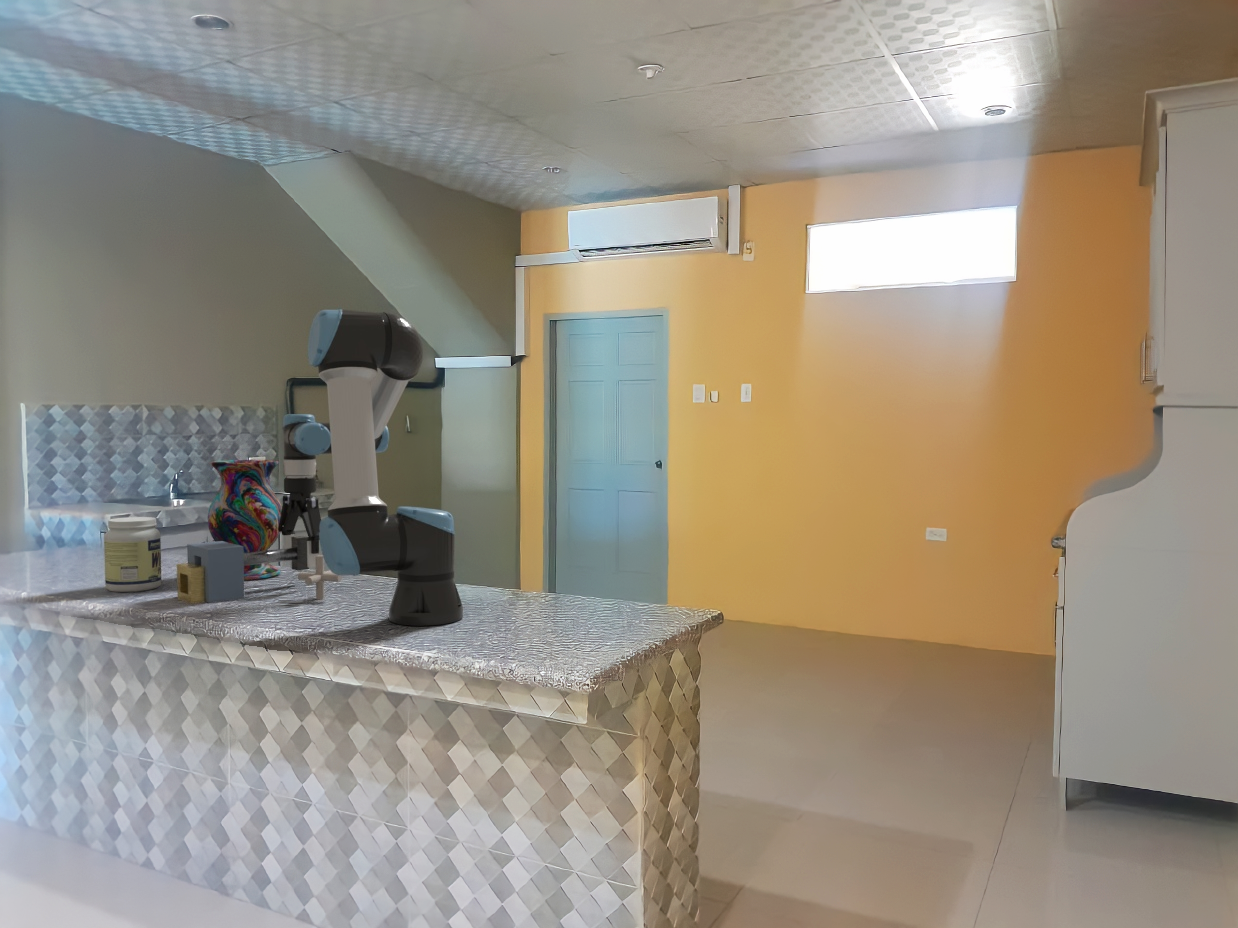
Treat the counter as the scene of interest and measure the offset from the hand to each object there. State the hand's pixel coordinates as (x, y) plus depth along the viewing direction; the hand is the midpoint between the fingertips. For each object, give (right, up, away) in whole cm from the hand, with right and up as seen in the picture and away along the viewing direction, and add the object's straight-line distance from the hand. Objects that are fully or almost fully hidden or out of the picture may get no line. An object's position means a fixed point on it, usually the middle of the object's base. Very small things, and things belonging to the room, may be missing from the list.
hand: (301, 563), depth 231 cm
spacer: (-19, -2, -19) cm, 27 cm away
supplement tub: (-39, -6, -5) cm, 40 cm away
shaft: (-7, -2, -7) cm, 10 cm away
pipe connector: (+10, -7, -17) cm, 20 cm away
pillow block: (-15, -6, -15) cm, 22 cm away
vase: (-19, -5, +13) cm, 23 cm away
